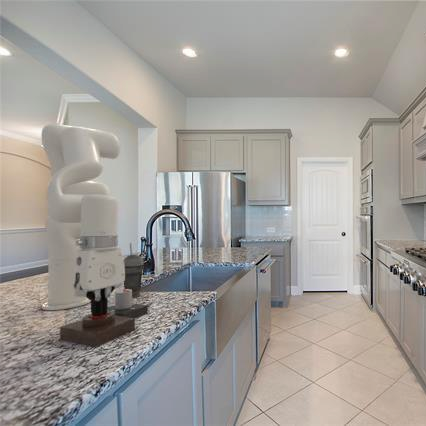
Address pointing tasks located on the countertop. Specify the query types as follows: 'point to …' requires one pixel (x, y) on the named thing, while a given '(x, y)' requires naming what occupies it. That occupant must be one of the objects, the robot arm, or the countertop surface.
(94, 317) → the power button
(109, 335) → the power button base
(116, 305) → the dial
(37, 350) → the countertop surface
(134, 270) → the beverage cup
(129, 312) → the knob
